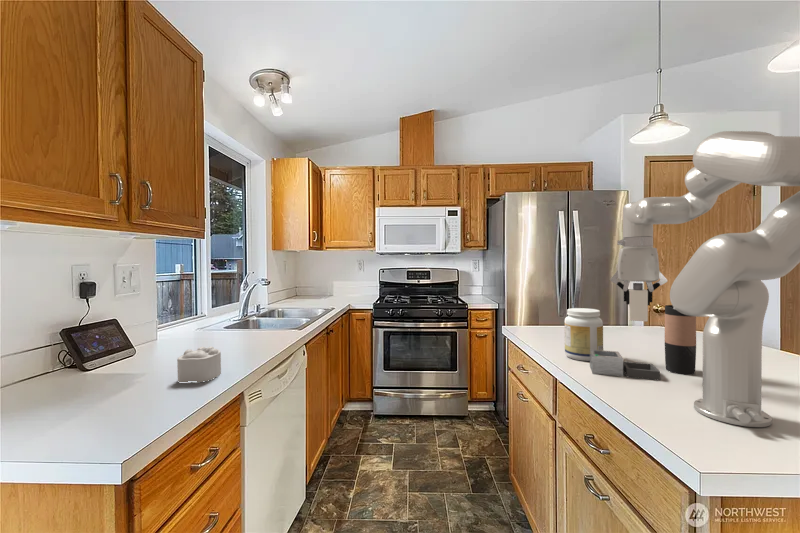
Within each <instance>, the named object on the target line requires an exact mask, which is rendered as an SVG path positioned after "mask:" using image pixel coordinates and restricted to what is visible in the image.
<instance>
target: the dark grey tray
mask: <svg viewBox="0 0 800 533" xmlns="http://www.w3.org/2000/svg"><path fill="white" fill-rule="evenodd" d="M623 374H624V375H625V376H626V378H633V379H644V380H653V381H661V372H660V370H659V369H658V368H657V367H656V366H655V365H654V363H648V362H647V363H646V362H645V363H644V362H633V361H624V360H623Z"/></svg>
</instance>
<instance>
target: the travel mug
mask: <svg viewBox="0 0 800 533" xmlns="http://www.w3.org/2000/svg"><path fill="white" fill-rule="evenodd" d="M696 357H697V317H696V316H688V315H685V314H682V313H680V312H679V311H677V310H676V309H675V308H674V307H673V305H672V304H668V305H666V304H665V306H664V358H665V359H664V363H665V370H666V371H667V372H669V371H670V373H673V374H678V375H684V376H685V375H686V376H687V375H688V376H691V375H695V374H696V363H697V362H696V361H697V358H696Z"/></svg>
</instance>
